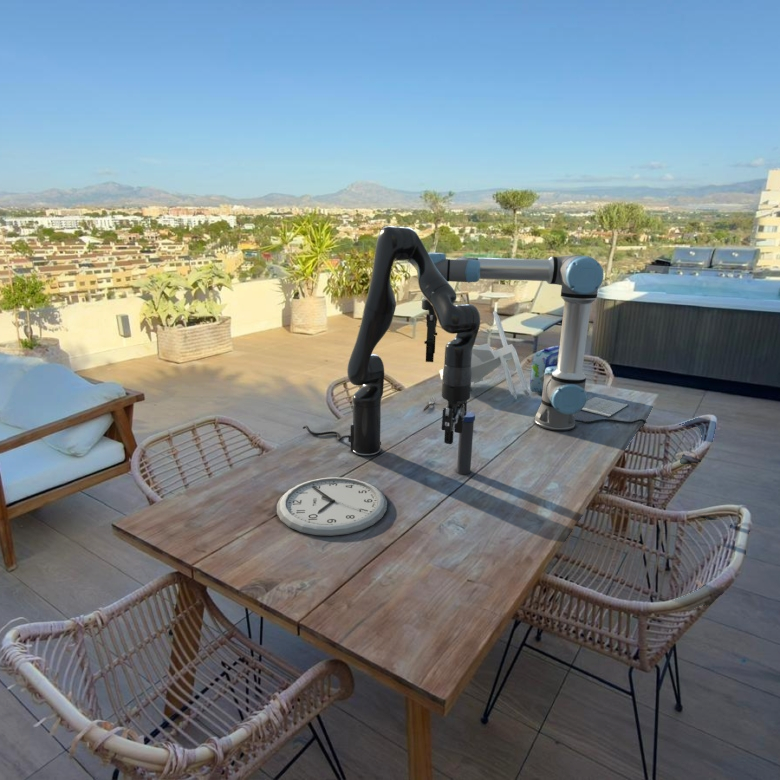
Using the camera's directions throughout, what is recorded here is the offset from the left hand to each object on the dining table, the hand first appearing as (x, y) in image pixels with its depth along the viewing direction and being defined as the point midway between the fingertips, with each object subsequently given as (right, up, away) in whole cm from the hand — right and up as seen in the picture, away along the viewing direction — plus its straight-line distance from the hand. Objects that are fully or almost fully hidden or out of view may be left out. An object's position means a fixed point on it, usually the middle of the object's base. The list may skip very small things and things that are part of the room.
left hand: (453, 437), depth 143 cm
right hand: (-3, +25, +47) cm, 53 cm away
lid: (+6, +5, +16) cm, 18 cm away
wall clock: (-33, -18, 0) cm, 38 cm away
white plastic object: (+24, +12, +100) cm, 104 cm away
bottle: (+6, -12, +21) cm, 25 cm away
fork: (-1, +6, +80) cm, 81 cm away
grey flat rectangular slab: (+74, +6, +84) cm, 112 cm away
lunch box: (+59, +13, +105) cm, 120 cm away
